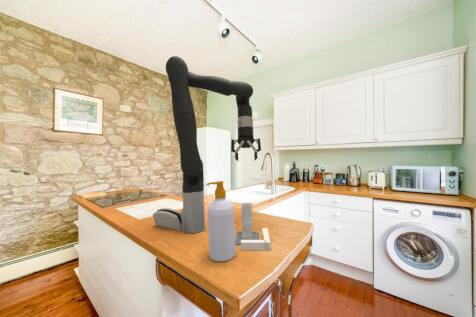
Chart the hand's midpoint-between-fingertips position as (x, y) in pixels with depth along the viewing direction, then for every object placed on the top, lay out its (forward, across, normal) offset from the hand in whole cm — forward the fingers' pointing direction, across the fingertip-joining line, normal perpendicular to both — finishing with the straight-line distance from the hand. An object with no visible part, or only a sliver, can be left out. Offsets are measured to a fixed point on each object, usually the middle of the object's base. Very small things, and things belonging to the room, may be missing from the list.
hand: (246, 160), depth 86 cm
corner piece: (+30, +3, -19) cm, 36 cm away
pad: (+30, 0, -16) cm, 34 cm away
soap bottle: (+30, -8, -29) cm, 43 cm away
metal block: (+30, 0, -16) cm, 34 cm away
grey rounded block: (+30, -37, -5) cm, 48 cm away
